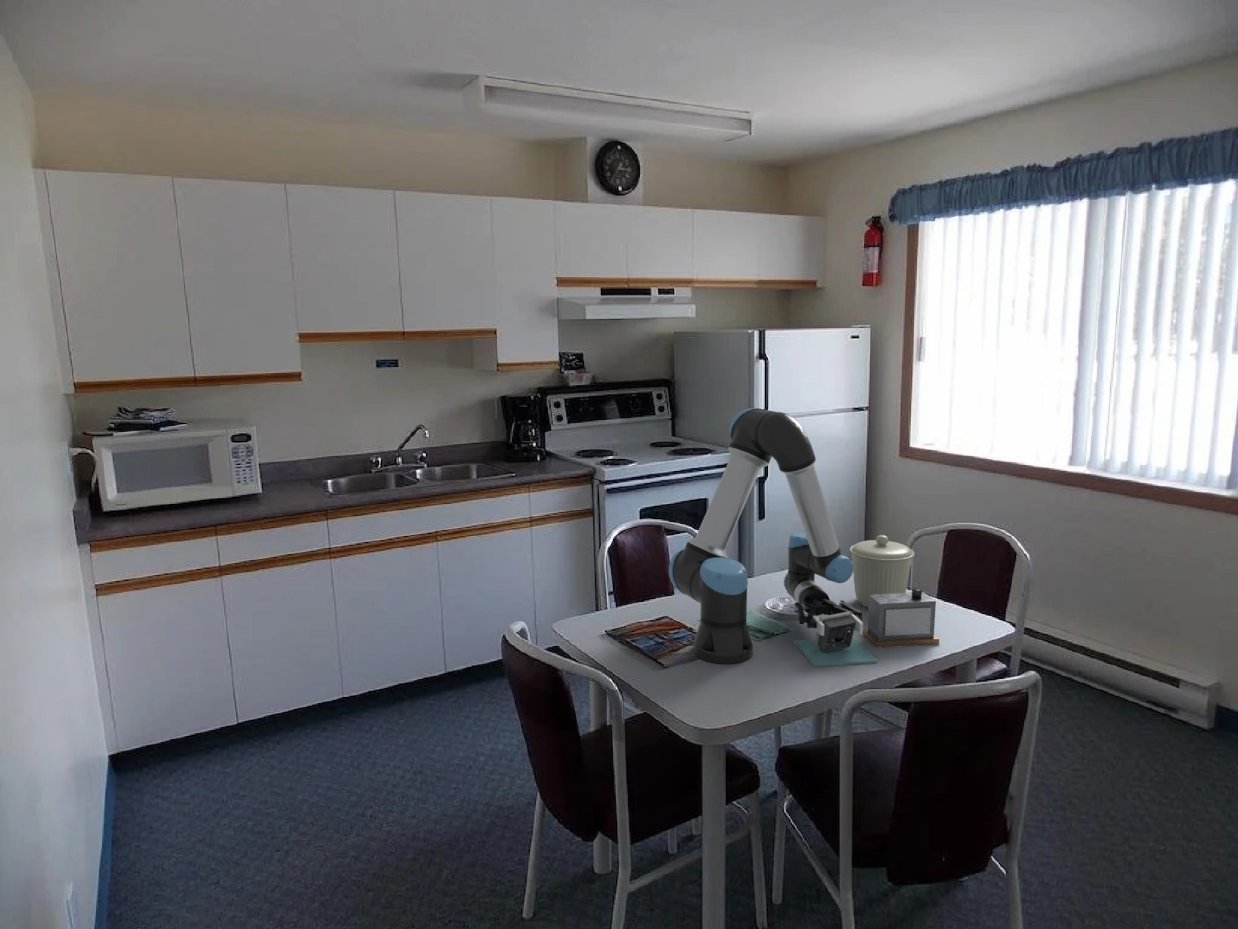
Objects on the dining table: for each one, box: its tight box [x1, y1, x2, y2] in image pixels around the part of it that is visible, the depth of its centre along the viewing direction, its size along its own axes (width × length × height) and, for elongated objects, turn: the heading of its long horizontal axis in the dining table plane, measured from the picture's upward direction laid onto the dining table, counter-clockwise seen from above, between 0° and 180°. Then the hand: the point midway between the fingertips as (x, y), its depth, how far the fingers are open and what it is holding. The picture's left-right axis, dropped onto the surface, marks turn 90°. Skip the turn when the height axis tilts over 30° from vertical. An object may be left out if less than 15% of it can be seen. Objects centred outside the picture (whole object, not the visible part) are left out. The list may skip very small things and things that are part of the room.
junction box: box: [862, 587, 940, 649], centre depth 210 cm, size 17×9×14 cm, turn 95°
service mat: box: [794, 636, 878, 668], centre depth 204 cm, size 16×15×1 cm
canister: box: [849, 534, 915, 608], centre depth 236 cm, size 18×18×21 cm
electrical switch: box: [814, 612, 856, 652], centre depth 202 cm, size 9×5×9 cm, turn 110°
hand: (842, 629), depth 198 cm, fingers open, 9 cm apart
